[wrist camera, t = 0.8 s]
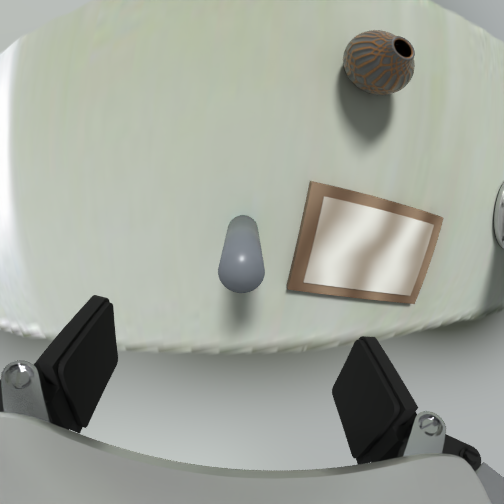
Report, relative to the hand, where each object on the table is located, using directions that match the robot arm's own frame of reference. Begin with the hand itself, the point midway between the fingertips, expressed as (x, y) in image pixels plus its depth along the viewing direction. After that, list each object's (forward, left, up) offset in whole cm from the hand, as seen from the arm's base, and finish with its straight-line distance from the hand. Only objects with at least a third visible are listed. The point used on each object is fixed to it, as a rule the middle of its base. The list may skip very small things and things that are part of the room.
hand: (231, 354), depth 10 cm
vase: (-10, -20, -21) cm, 30 cm away
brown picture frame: (-15, 0, -21) cm, 26 cm away
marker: (0, 0, -21) cm, 21 cm away
